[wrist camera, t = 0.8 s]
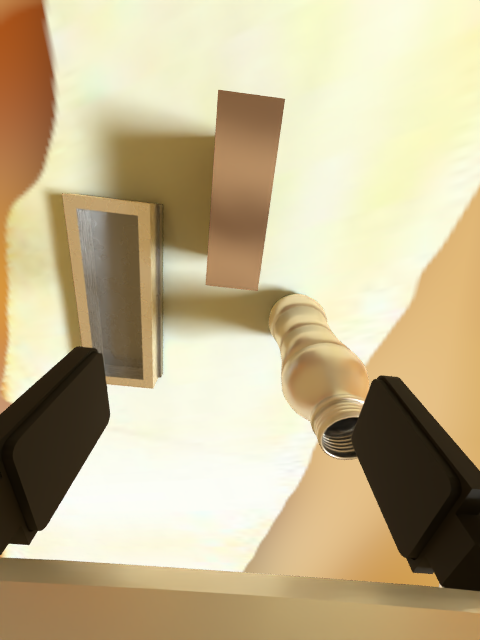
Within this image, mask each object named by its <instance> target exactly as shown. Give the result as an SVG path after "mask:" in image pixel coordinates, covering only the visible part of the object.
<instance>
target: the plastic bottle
mask: <svg viewBox="0 0 480 640" xmlns="http://www.w3.org/2000/svg"><path fill="white" fill-rule="evenodd" d="M269 329H270V332H271V334H272V335H273V337H274V339H275V340H276V342H277V343H278V346H279V348H280V352H281V359H282V372H281V382H282V391H283V395H284V397H285V399H286V400H287V402H288V404H289V405H290V406H291V408H292V409H293V410H294V411H295V412H296V413H297V414H299V415H300V416H302V417H303V418H305V419H307V420H308V421H310V423H311V426H312V429H313V431H314V433H315V434H316V436H317V439H318V442H319V445H320V446H321V448H322V449H323V451H324V452H325V453H326V454H328V455H329V456H331V457H333V458H336V459H341V460H352V459H357V458H358V457H357V455H356V452H355V450H354V448H353V445H352V440H351V438H352V433H353V430H354V428H355V425H356V423H357V420H358V417H359V415H360V412H361V409H362V407H363V404H364V401H365V399H366V396H367V393H368V391H369V379H368V374H367V370H366V368H365V366H364V364H363V363H362V361H361V360H360V359H359V358H358V357H357V356H356V355H355V353H353V352H352V351H351V350H350V349H349V348H347V347H346V346H345V345H344V344H343V343H342V342H341V341H339V340H338V338H337V337H336V336H335V335H334V334H333V332H332V331H331V330H330V328H329V325H328V323H327V318H326V315H325V312H324V310H323V308H322V306H321V305H320V304H319V303H318V302H317V301H315V300H314V299H312V298H310V297H308V296H306V295H302V294H292V295H288V296H285V297H283V298H281V299H280V300H279V301H277V302H276V304H275V305H274V306H273V308H272V309H271V312H270V316H269Z"/></svg>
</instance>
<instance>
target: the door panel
mask: <svg viewBox="0 0 480 640" xmlns="http://www.w3.org/2000/svg"><path fill="white" fill-rule="evenodd" d="M284 102H285V99H282V98H274V97H267V96H260V95H253V94H245V93H238V92H231V91H223V90H218V102H217V118H216V133H215V149H214V164H213V180H212V195H211V211H210V227H209V242H208V258H207V273H206V285H210V286H219V287H228V288H237V289H246V290H255V291H258V284H259V277H260V270H261V263H262V256H263V249H264V242H265V235H266V228H267V221H268V214H269V207H270V200H271V193H272V186H273V179H274V172H275V165H276V158H277V151H278V144H279V137H280V130H281V123H282V116H283V109H284Z"/></svg>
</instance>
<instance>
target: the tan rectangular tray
mask: <svg viewBox="0 0 480 640" xmlns="http://www.w3.org/2000/svg"><path fill="white" fill-rule="evenodd" d="M62 198H63V205H64V213H65V220H66V228H67V235H68V243H69V250H70V258H71V265H72V273H73V280H74V288H75V296H76V303H77V311H78V318H79V326H80V333H81V341H82V347H89V348H96V349H97V350H98V353H102V355H103V360H104V369H105V377H106V384H111V385H121V386H132V387H142V388H154V386H155V384H156V382H157V379H158V377H161V376H162V374H163V204H155V203H146V202H138V201H130V200H122V199H113V198H105V197H97V196H88V195H80V194H63V193H62Z"/></svg>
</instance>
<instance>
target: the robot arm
mask: <svg viewBox="0 0 480 640" xmlns="http://www.w3.org/2000/svg"><path fill="white" fill-rule="evenodd" d="M109 418H110V409H109V401H108V393H107V385H106V377H105V369H104V360H103V355H102V353H98V350H97V349H96V348H89V347H76V348H74V349H73V350H72V351H71V352H70V353H68V354H67V355H66V356H65V357H64V358H63V359H62V360H61V361H60V362H58V363H57V364H56V365H55V366H54V367H53V368H52V369H51V370H49V371H48V372H47V373H46V374H45V375H44V376H43V377H42V378H41V379H39V380H38V381H37V382H36V383H35V384H34V385H33V386H32V387H30V388H29V389H28V390H27V391H26V392H25V393H24V394H23V395H21V396H20V397H19V398H18V399H17V400H16V401H15V402H14V403H13V404H11V405H10V406H9V407H8V408H7V409H6V410H5V411H4V412H3V413H1V414H0V555H1V554H2V553H3V551H4V550H5V548H6V547H7V545H8V544H22V545H29V544H30V543H31V541H32V539H33V538H34V536H35V535H36V533H37V531H41V530H43V529H44V528H45V527H46V526H47V524H48V523H49V521H50V519H51V518H52V516H53V514H54V513H55V511H56V509H57V508H58V506H59V504H60V503H61V501H62V499H63V498H64V496H65V494H66V493H67V491H68V489H69V488H70V486H71V484H72V483H73V481H74V479H75V478H76V476H77V474H78V473H79V471H80V469H81V468H82V466H83V464H84V463H85V461H86V459H87V458H88V456H89V454H90V453H91V451H92V449H93V448H94V446H95V444H96V443H97V441H98V439H99V438H100V436H101V434H102V433H103V431H104V429H105V428H106V426H107V424H108V422H109ZM351 440H352V445H353V448H354V450H355V452H356V455H357V457H358V459H359V462H360V464H361V466H362V468H363V470H364V473H365V475H366V477H367V480H368V482H369V484H370V487H371V489H372V491H373V494H374V496H375V498H376V500H377V502H378V505H379V507H380V509H381V512H382V514H383V516H384V518H385V521H386V523H387V525H388V528H389V530H390V532H391V534H392V537H393V539H394V541H395V544H396V546H397V548H398V550H399V552H400V553H401V555H402V556H403V557H405V558H406V559H407V561H408V563H409V565H410V567H411V570H412V572H413V573H428V574H433V573H435V575H436V577H437V579H438V581H439V583H440V585H439V587H430V586H419V585H406V584H393V583H380V582H366V581H353V580H340V579H327V578H314V577H300V576H285V575H272V574H258V573H244V572H230V571H215V570H201V569H187V568H172V567H156V566H141V565H125V564H110V563H94V562H79V561H63V560H43V559H20V558H0V640H480V471H479V470H478V468H477V467H476V466H475V465H474V464H473V463H472V461H471V460H470V459H469V458H468V457H467V456H466V455H465V453H464V452H463V451H462V450H461V449H460V448H459V446H458V445H457V444H456V443H455V442H454V441H453V439H452V438H451V437H450V436H449V435H448V434H447V432H446V431H445V430H444V429H443V428H442V427H441V426H440V424H439V423H438V422H437V421H436V420H435V419H434V417H433V416H432V415H431V414H430V413H429V412H428V411H427V409H426V408H425V407H424V406H423V405H422V403H421V402H420V401H419V400H418V399H417V398H416V397H415V395H414V394H413V393H412V392H411V391H410V390H409V388H408V387H407V386H406V385H405V384H404V383H403V381H401V379H400V378H398V377H392V376H379V377H378V378H377V379H374V380H373V381H372V383H371V386H370V388H369V391H368V393H367V396H366V399H365V401H364V404H363V407H362V409H361V412H360V415H359V417H358V420H357V423H356V425H355V428H354V430H353V433H352V438H351Z"/></svg>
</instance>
